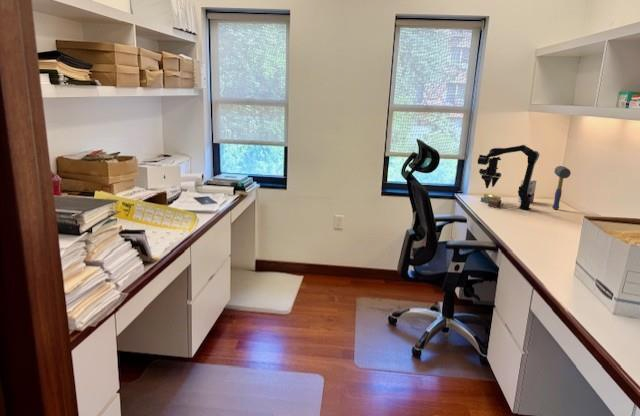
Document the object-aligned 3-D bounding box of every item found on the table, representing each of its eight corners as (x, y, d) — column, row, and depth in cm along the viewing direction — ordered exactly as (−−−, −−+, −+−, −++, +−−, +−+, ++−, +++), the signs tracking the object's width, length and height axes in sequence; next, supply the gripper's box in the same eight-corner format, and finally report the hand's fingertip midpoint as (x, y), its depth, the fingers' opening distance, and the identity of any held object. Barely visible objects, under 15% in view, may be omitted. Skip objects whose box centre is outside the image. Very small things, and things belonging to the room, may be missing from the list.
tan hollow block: (492, 204, 306) (493, 198, 304) (500, 206, 301) (501, 200, 300) (487, 206, 301) (488, 199, 300) (496, 207, 297) (497, 201, 296)
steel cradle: (485, 200, 318) (486, 196, 318) (500, 203, 311) (500, 199, 310) (480, 201, 313) (481, 197, 312) (495, 204, 305) (495, 200, 305)
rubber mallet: (564, 212, 294) (572, 168, 286) (552, 211, 295) (560, 167, 288) (558, 207, 306) (566, 165, 298) (546, 206, 307) (554, 164, 300)
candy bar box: (527, 200, 323) (530, 179, 319) (533, 202, 319) (537, 180, 315) (517, 201, 318) (521, 180, 314) (523, 203, 314) (527, 181, 310)
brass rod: (483, 197, 314) (484, 193, 313) (485, 197, 316) (486, 193, 315) (498, 201, 306) (498, 197, 305) (500, 200, 308) (500, 196, 307)
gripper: (488, 163, 318) (485, 184, 322) (475, 165, 305) (473, 187, 309) (502, 165, 310) (499, 186, 314) (490, 167, 298) (487, 189, 302)
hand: (489, 187), depth 310 cm, fingers open, 9 cm apart
